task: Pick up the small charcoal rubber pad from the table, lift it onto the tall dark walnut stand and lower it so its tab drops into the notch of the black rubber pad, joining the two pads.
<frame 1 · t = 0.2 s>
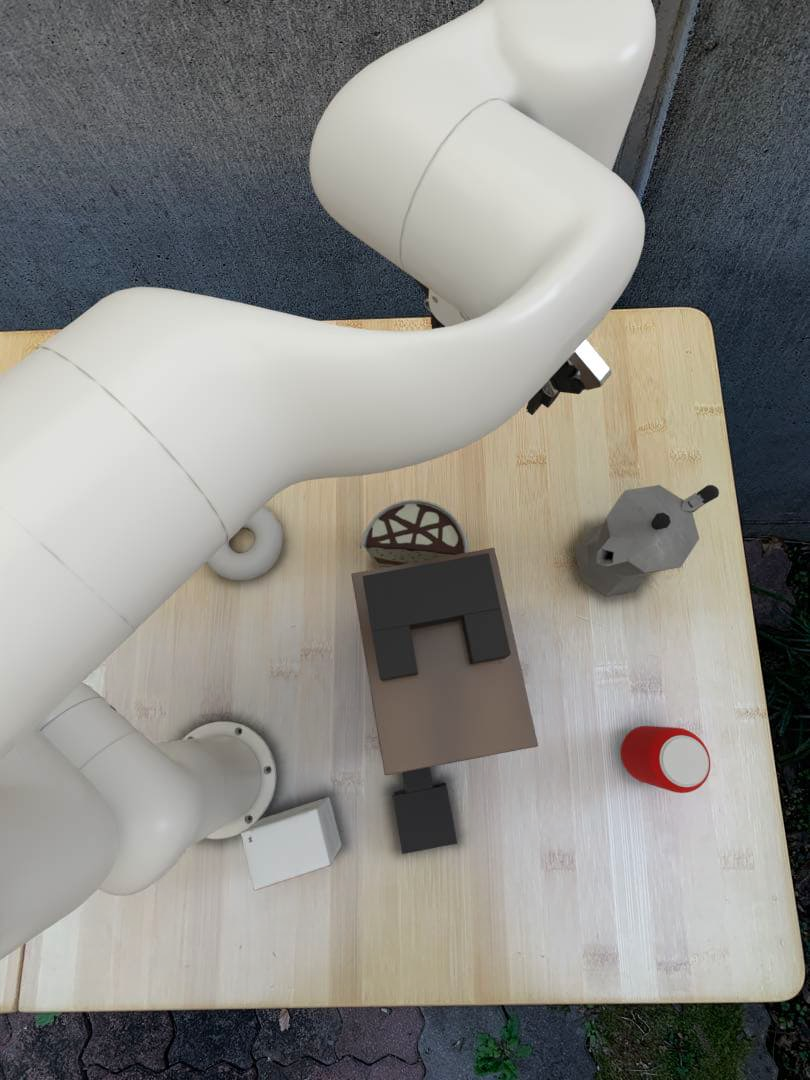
hand: (492, 365, 55), 31 cm above the table, tool pointing down, fingers open, 9 cm apart
small box: (302, 831, 76), on the table
chocolate cake: (417, 544, 84), on the table
black pad: (434, 619, 55), resting on walnut stand
donut: (245, 544, 85), on the table
coffeepot: (618, 556, 83), on the table
walnut stand: (433, 675, 80), on the table
beverage can: (644, 753, 78), on the table
charcoal pad: (424, 815, 76), on the table
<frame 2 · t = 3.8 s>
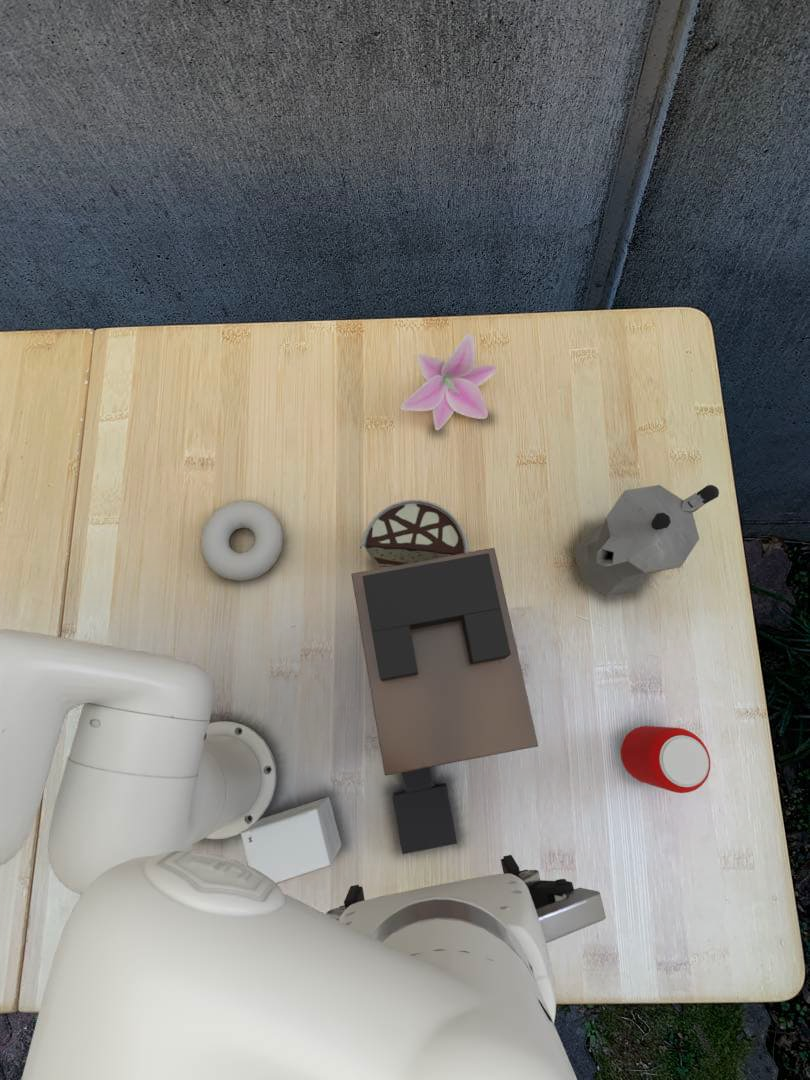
hand: (435, 896, 43), 35 cm above the table, tool pointing down, fingers open, 9 cm apart
nothing on the table moved.
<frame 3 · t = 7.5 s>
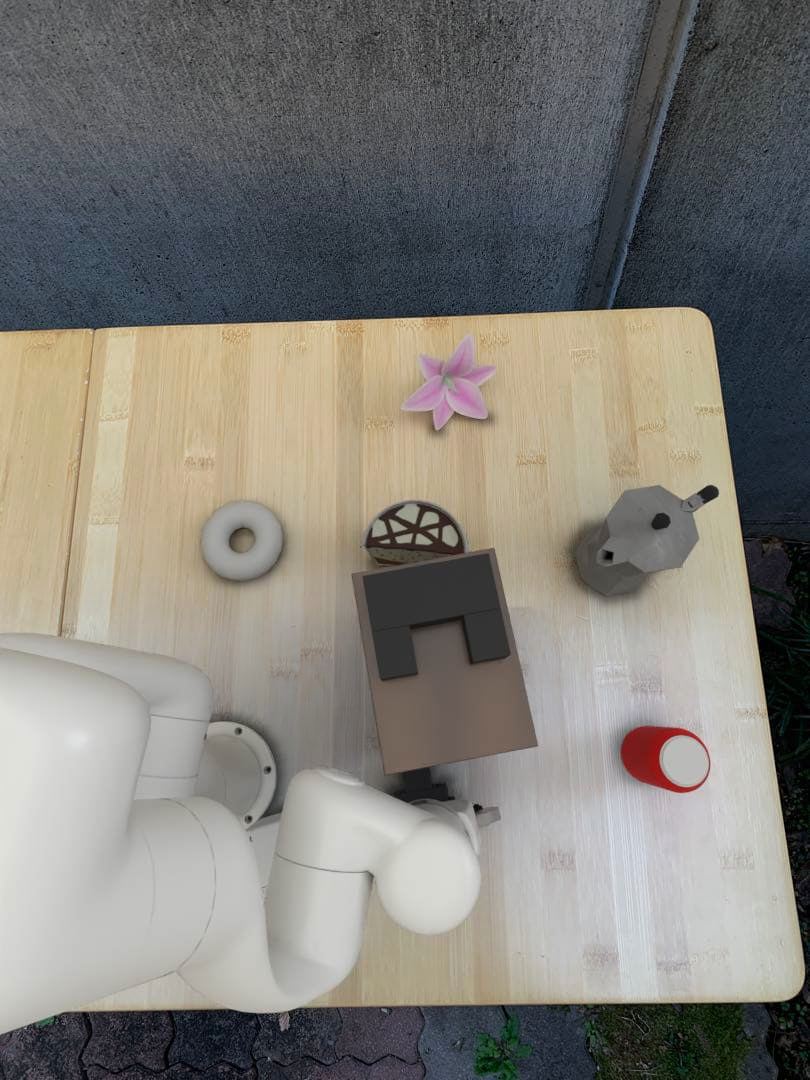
hand: (424, 816, 76), 1 cm above the table, tool pointing down, fingers closed on charcoal pad, 6 cm apart
charcoal pad: (424, 815, 76), on the table, touching gripper
everything else where it was.
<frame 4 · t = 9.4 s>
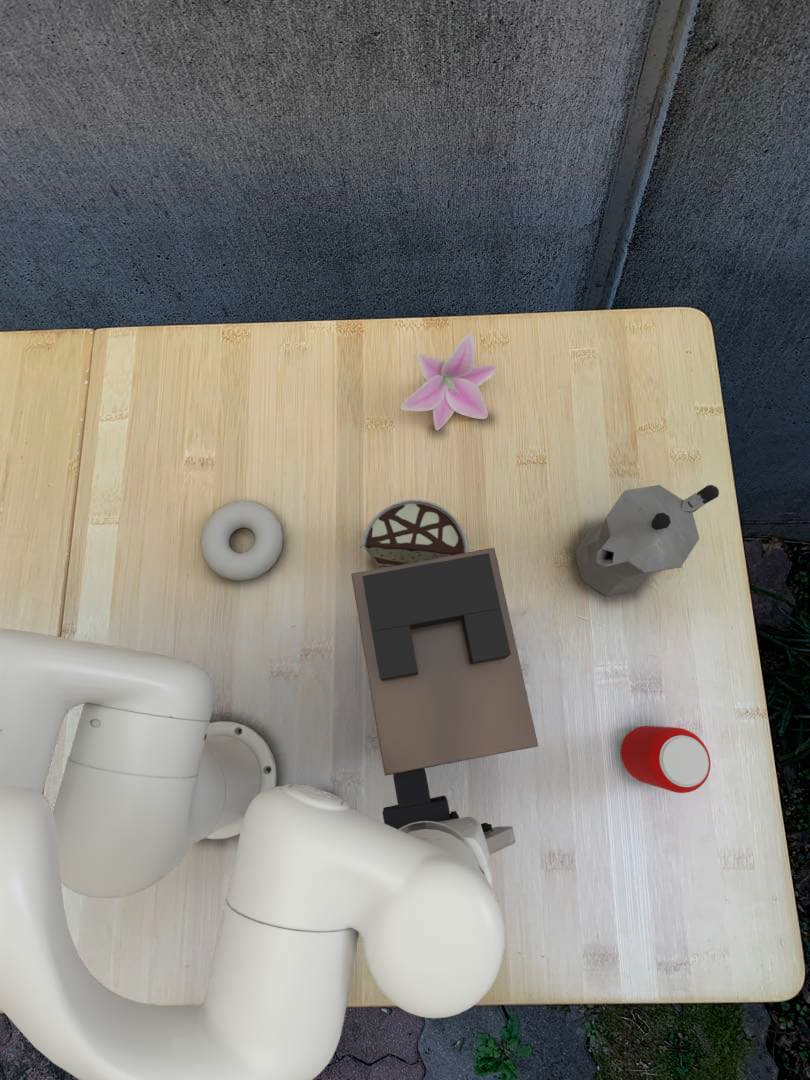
hand: (420, 836, 63), 14 cm above the table, tool pointing down, fingers closed on charcoal pad, 6 cm apart
charcoal pad: (420, 834, 64), point 13 cm above the table, touching gripper
everything else where it was.
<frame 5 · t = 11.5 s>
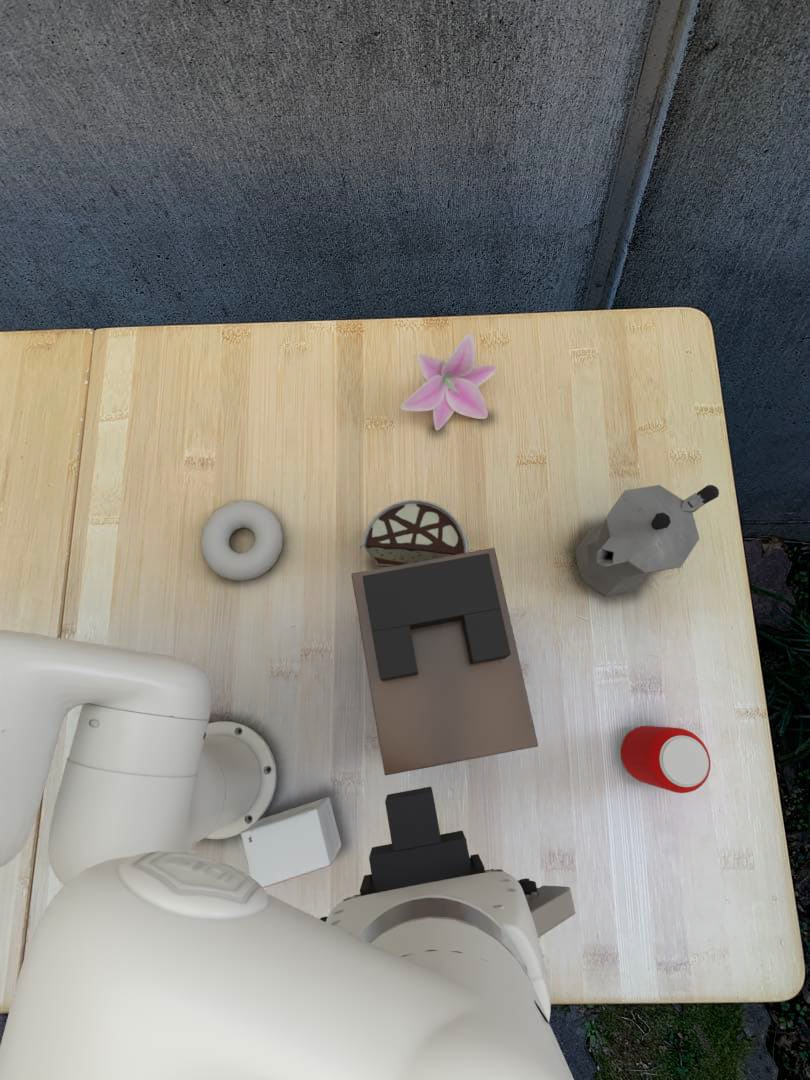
hand: (425, 891, 43), 35 cm above the table, tool pointing down, fingers closed on charcoal pad, 6 cm apart
charcoal pad: (425, 888, 43), point 34 cm above the table, touching gripper
everything else where it was.
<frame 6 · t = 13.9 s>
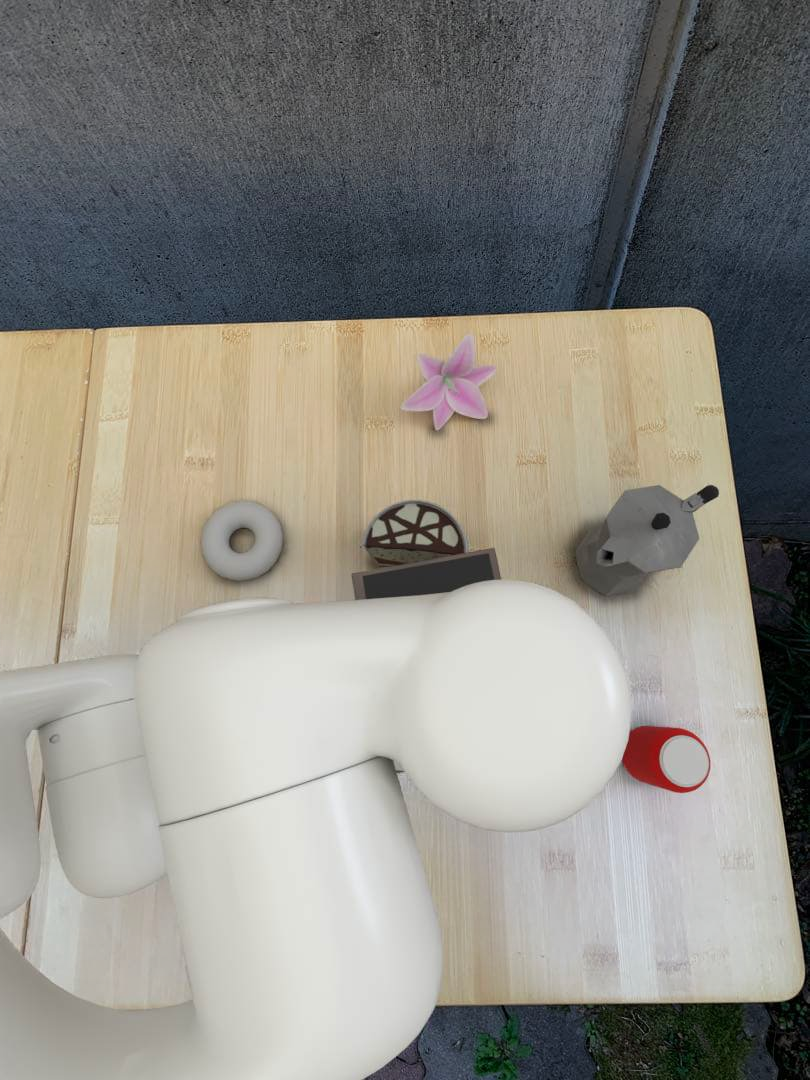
hand: (456, 707, 48), 32 cm above the table, tool pointing down, fingers closed on charcoal pad, 6 cm apart
charcoal pad: (455, 707, 49), point 31 cm above the table, touching gripper
everything else where it was.
when the fingers open (28 cm above the table, at t = 15.7 s): charcoal pad stays where it is, resting on walnut stand.
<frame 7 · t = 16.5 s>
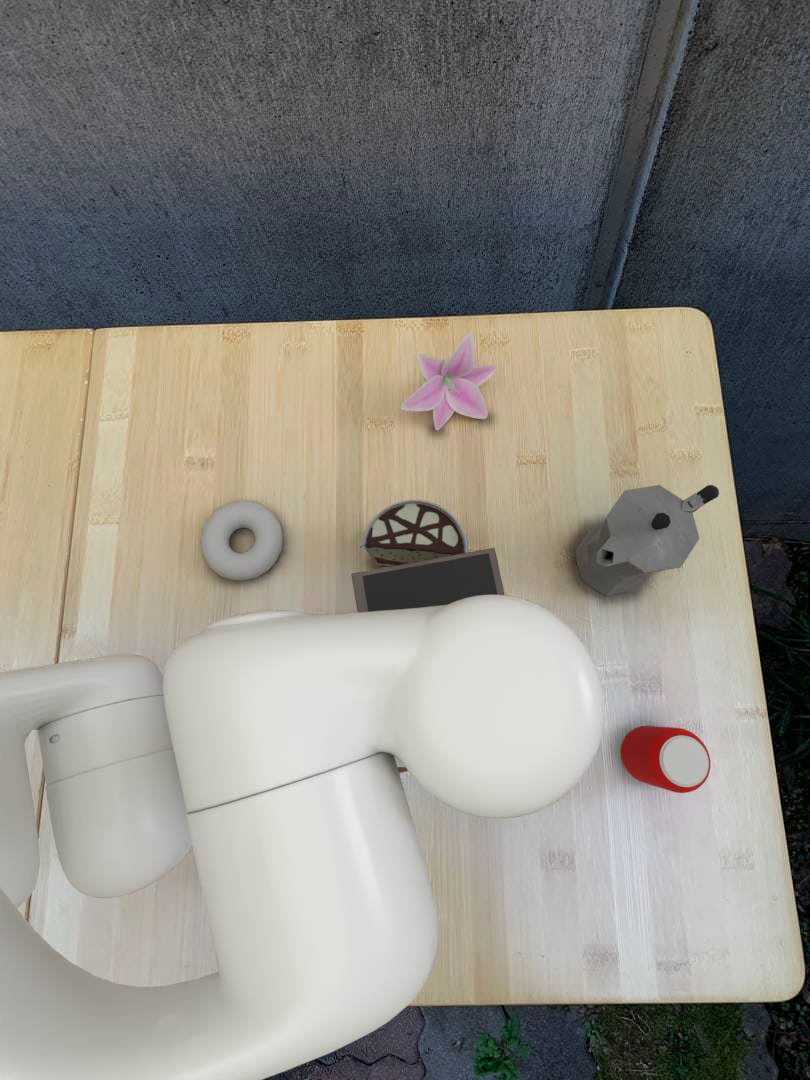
hand: (452, 708, 50), 30 cm above the table, tool pointing down, fingers open, 9 cm apart
charcoal pad: (452, 708, 53), point 27 cm above the table, touching walnut stand
everything else where it was.
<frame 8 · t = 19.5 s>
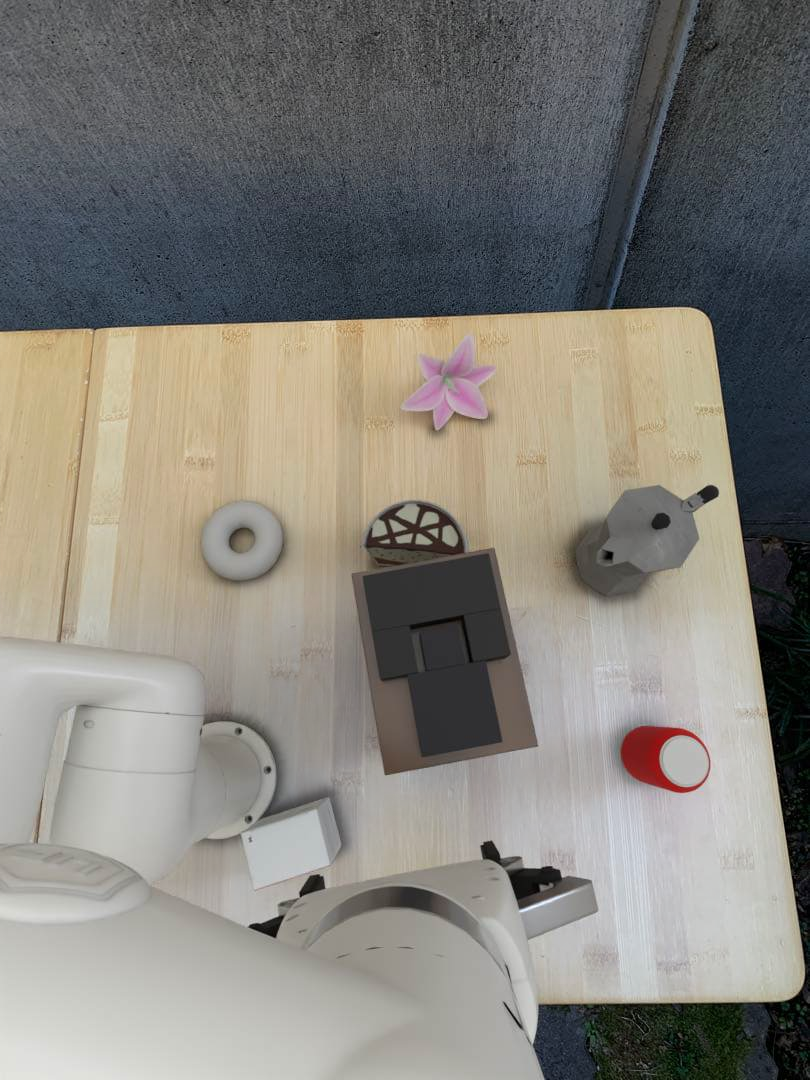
hand: (406, 887, 38), 40 cm above the table, tool pointing down, fingers open, 9 cm apart
nothing on the table moved.
at the end: charcoal pad 0.0 cm from the target spot on the table beside the black pad, resting on walnut stand; charcoal pad tilted 0°; the gripper is holding nothing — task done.
